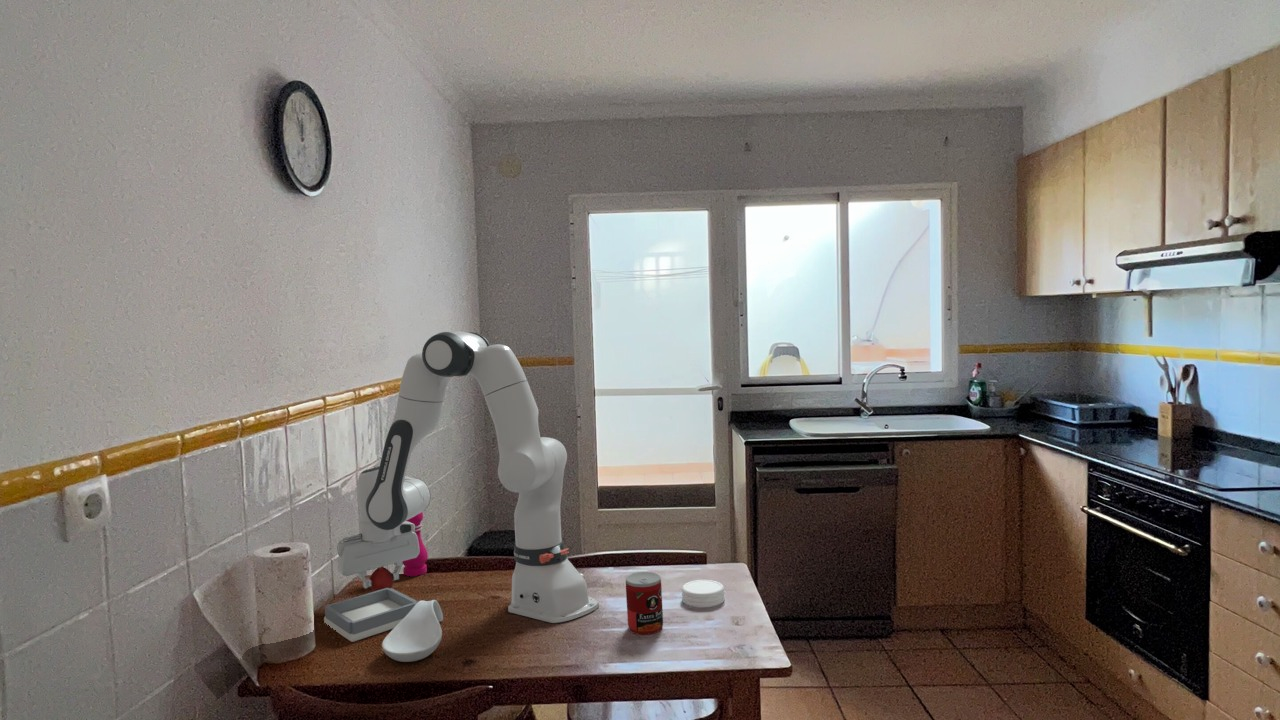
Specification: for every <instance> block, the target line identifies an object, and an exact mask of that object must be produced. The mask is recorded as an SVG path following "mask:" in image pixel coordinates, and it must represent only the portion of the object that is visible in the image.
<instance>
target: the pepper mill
mask: <svg viewBox="0 0 1280 720" xmlns="http://www.w3.org/2000/svg"><path fill="white" fill-rule="evenodd" d="M423 519H424V513H423V511H422V512H421V513H419V514H418V515H416V516H414V517H412V518H410V519H408V520H406V521H408V522H411V523H413V524H414V525H415V530H414V531H413V532H415V533H416V535H417V537H418V542H419V551H420V552H419V555H418V556H417V557H416V558H413V559H409V560H405V561H402V563H403V566H404V567H403V569H402V570H403V572H402V573H403V575H404V576H405V575H407V576H406V577H409V576H410V577H419V576H422V575H425V574H426V573H427V571H428V566H427V564H426V562H427V561H428V559H429V555H428V554H429V553H428V550H427V548H426V545H424V542H423V539H422V535H421V530H422V529H423V527H422V526H423V524H422V521H423ZM418 575H419V576H418Z"/></svg>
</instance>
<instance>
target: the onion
mask: <svg viewBox="0 0 1280 720" xmlns="http://www.w3.org/2000/svg"><path fill="white" fill-rule="evenodd" d="M391 573H392V572H391V571H390V570H389V569H388V568H386V567H385V566H383V567H379V568H375V570H374V571H373V572H372V574H371V575H370V576H369V580H371V585H372V586H371V587H369V588H370V589H371V591H372V592H374V591H378V590H381V589H385V588H389V589H390V588H392V587H393V584H394V581H393V576H392V574H391Z"/></svg>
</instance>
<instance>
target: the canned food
mask: <svg viewBox="0 0 1280 720" xmlns="http://www.w3.org/2000/svg"><path fill="white" fill-rule="evenodd" d="M662 592H663V591H662V579H661V575H659V573H656V572H651V571H638V572H634V573H631V574H629V575H627V576H626V577H625V595H626V614H627V615H626V616H627V626H628V629H629V631H630V632H631V633H632V634H633V633H634V634H635V635H641V636H646V635H653V634H654V635H655V634H657V633H658V632H661V631H662V629H663V626H664V615H663V613H664V611H663V593H662Z"/></svg>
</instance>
